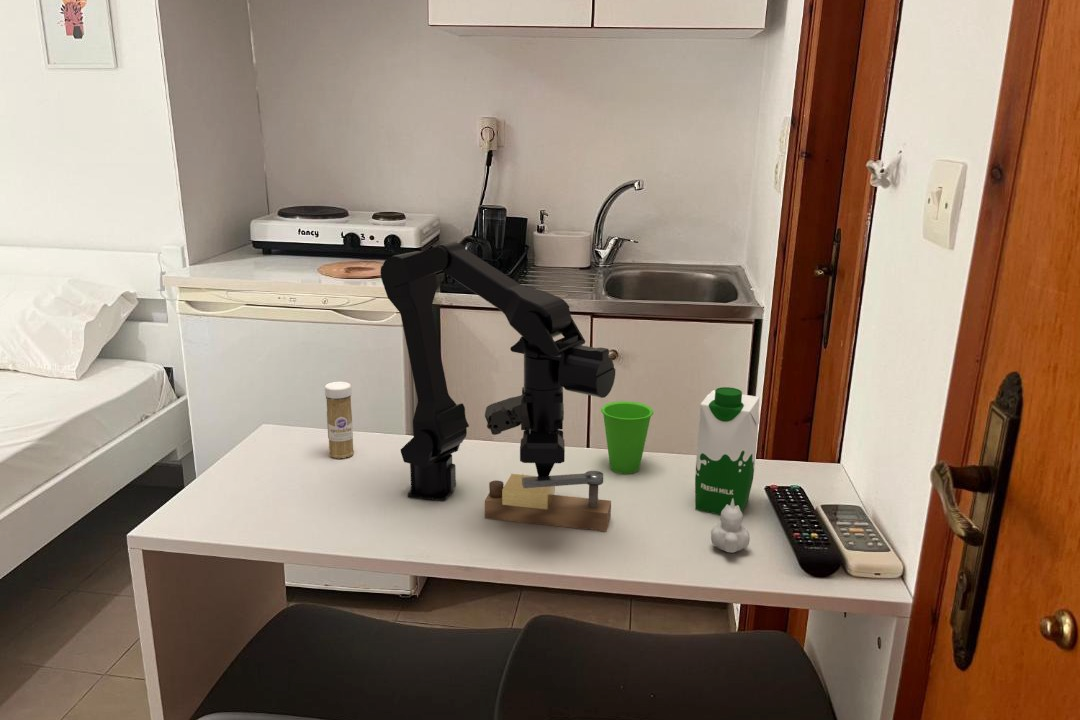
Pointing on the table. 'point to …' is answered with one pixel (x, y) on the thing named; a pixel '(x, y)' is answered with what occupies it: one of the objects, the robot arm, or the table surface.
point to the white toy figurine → (730, 530)
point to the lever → (564, 480)
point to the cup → (626, 434)
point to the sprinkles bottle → (339, 419)
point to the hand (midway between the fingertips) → (542, 481)
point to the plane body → (553, 510)
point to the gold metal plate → (526, 494)
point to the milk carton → (726, 449)
